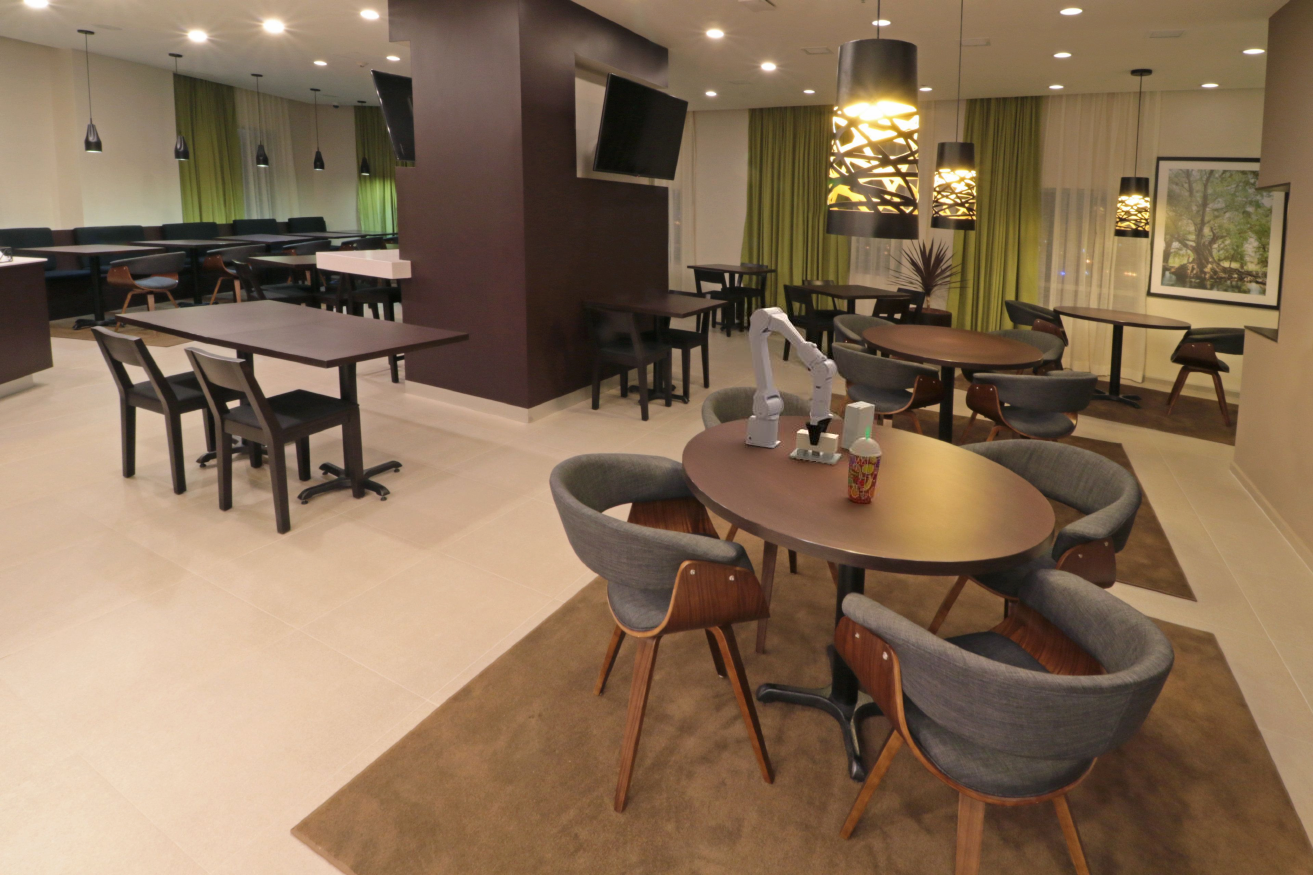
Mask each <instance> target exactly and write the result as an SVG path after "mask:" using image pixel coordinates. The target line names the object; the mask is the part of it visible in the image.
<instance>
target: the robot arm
mask: <svg viewBox="0 0 1313 875" xmlns="http://www.w3.org/2000/svg"><path fill="white" fill-rule="evenodd" d="M749 322H750V326H749V330H748V340H749V348H750V355H751V359H752V360H751V361H752V366H753V372H754V378H755V384H756V391H755V393H754V395H753V396H752V398H753V403H752V412H753V415H751V416H749V418H748V423H747V431H746V442H745V444H746V445H750V446H756V447H757V446H758V447H763V448H769V449H774V448H776V447H777V446H778V445H779V444H781V441H780V440H778V439H777V438H778V427H779V417H780V414H781V413H782V412H783V410H784V406H785V405H784V401H783V399H782V397H781V394H780V391H779V390H778V388H776V387H775V385H774V378H773V372H772V367H771V365H772V364H771V358H770V354H769V346H768V339H767V338H768V337H769V336H770V334H771V333H772V332H779V333H780V334H781V335H782V336H783V337H785V339H787V341H789V343H791V344H792V346H794V347H795V348H796V350H797V351H796V355H797V356H798V358H800V359H801V361H802V362H803V363H804V364H805V365H806V366H807V368H808V369H810V375H811V377H812V380H813V381H812V383H813V384H812V394H811V404H810V412H809V417H810V420H808V421H806V422H805V427H806V430H808V433H809V439H810V445H814V446H817V445H818V442H819V438H820V435H821V432H822V433H827V429H828V427H829V424H830V423H831V421H832V419H833V418H834V414H831V413H830V411H831V401H832V395H833V394H832V393H833V392H832V391H833V384H834V383H833V382H834V381H833V380H834V377H835V376H836V375H837V374H838V366H837V364H836V362H835V361H834V360H833V359H831V358H828V357H827V355H824V354H823V353H822V352H821V350H819V349H818V348H817V347H818V345H817V344H816V343H813V342H812V341H806V340H805V339H804V338H803V336H802V335H801V334H800V333H799V331H798V330H797V329H796V328H795V326H794V325H793V324H792V322H791V321H790V320H789V318H788V314H786V313H785V312H783V309H781V308H780V307H778V306H773V307H768V308H757V309H755V311H754V312H753V313H752V314H751V316H749Z"/></svg>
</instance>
